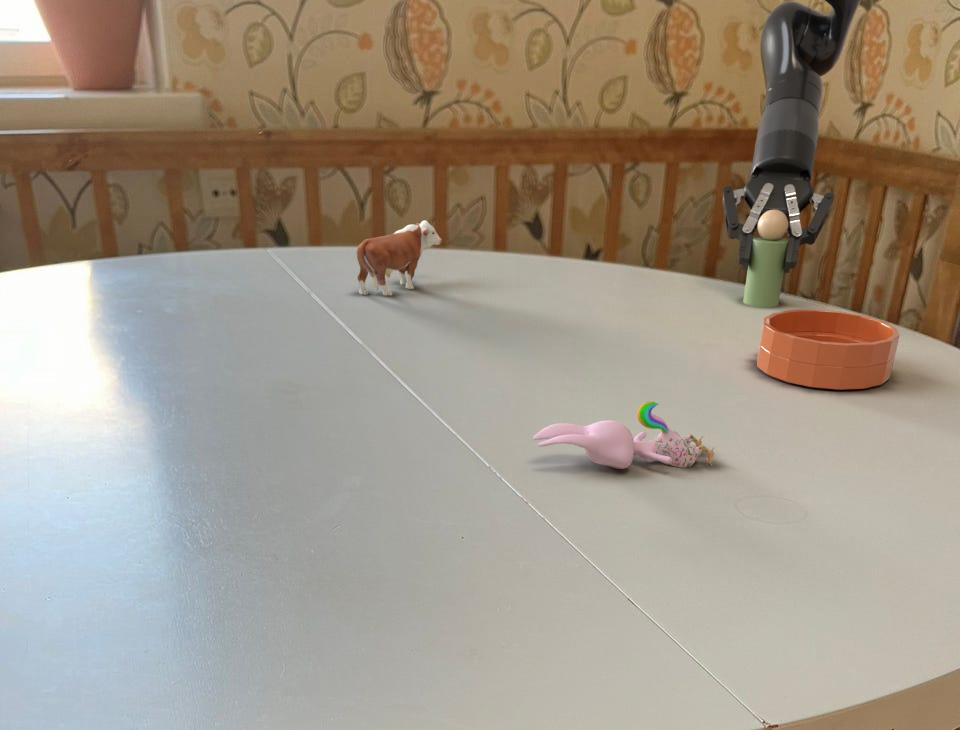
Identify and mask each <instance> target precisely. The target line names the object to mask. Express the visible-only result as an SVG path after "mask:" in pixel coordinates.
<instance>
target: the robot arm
mask: <svg viewBox="0 0 960 730" xmlns="http://www.w3.org/2000/svg"><path fill="white" fill-rule="evenodd" d="M824 2H826V3H827V4H828V5H829V6H831V10H830V12H829V13H828V14H827V13H823V12H821V11H819V10H816V9H814V8H812V7H810V6H807V5H805V4H802V3H800V2H798V1H795V0H794V1H793V0H790V1H789V0H787V1H784V2H782V3H780V4H778V5H777V6H775V7H774V8H773V9H772V10H771V12H770V13H769V15H768V16H767V17H766V19H765V22H764V25H763V27H762V31H761V36H760V45H759V46H760V47H759V52H760V60H761V67H762V72H763V79H764V86H765V96H764V102H763V110H762V114H761V118H760V119H761V120H760V122H759V124H758V128H757V133H756V138H755V144H754V151H753V157H752V162H751V163H752V164H751V169H750V175H749V180H748V181H747V182H746V184H744V187H742V188H737V189H734V188H733V187H732V186H729V185H728V186H725V187H724V188H723V190H722V201H721V204H722V210H723V217H724V222H725V228H726V235H727V237H728V239H731V240H734V239H736V240H738V241H739V249H738V255H737V263H738V265H741V267H742V268H741V269H742V270H747V271H748V266H749V259H750V252H751V246H752V239H753V237H755V235H756V233H757V232H758V228H757V226H758V221H759V219H760V217H761V216H762V215H763V214H764V213H765V212H767V211H769V210H779V211H781V212H783V213H784V214H785V215H786V217H787V220H788V228H787V231H786V233H785V234H787V237H788V238H787V239H788V240H789V242H788V248H787V254H786V260H785V266H784V272H783V274H789V273H790V271H791V269H792V270H794V269H795V268H796V266H797V263H798V258H799V251H800V247H801V246H802V245H804V244H805V245H806V244H807V245H809V246H811V245H814V244H815V243H816V241H817V239H818V237H819V235H820V234H821V232H822V229H823V228H824V225H825V223H826V221H827V219H828V217H829V216H830V213H831V212H832V209H833V208H832V207H833V205H834V200H835V195H834V193H832V192H826V193H824V195H823V194H819V193H817V192H815V191H814V188H813V185H812V179H813V171H814V165H815V159H816V152H817V150H818V146H817V145H818V139H819V120H820V113H821V108H822V107H821V106H822V101H823V100H822V98H823V94H824V93H823V92H824V85H823V84H824V83H823V80H822V78H821V77H823V76H825V75H826V74H828V73H829V72H830V71H832V69H833V68H834V67H835V66H836V65H837V64H838V62H839V59H840V58H841V55H842V53H843V51H844V47H845V44H846V41H847V37H848V34H849V33H850V28H851V25H852V24H853V20H854V18H855V15H856V13H857V11H858V8H859V6H860V4H861V2H862V0H824ZM742 201H744V202H745V203H746V205H747V206H748V208H749V209H750V211H749V214H748V217H747V219H746V221H745V223H744V224H742V223H740V222H739V217H738V212H737V211H738V208H739V207H740V206H741V202H742ZM810 204H811V205H812V212H813V213H814V215H813V216H812V219H811V221H810V222H809V224H808V226H807V227H805V228H804V227H803V228H802V224H801V216H800V215H801V213H802V212H803V211H804V210H805V209H806V208H807V207H809V205H810Z"/></svg>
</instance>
